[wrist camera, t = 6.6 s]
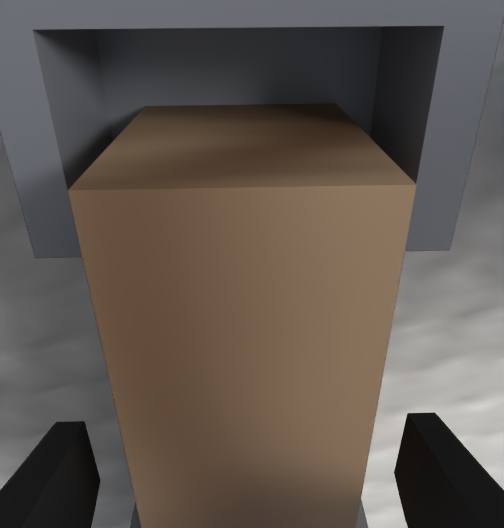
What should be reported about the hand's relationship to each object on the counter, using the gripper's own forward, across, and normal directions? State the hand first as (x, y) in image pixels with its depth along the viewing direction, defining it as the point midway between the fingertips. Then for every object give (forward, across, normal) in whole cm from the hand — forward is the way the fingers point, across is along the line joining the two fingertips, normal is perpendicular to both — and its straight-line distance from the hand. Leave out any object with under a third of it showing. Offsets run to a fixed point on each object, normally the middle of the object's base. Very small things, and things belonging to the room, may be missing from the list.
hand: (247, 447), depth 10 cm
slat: (+3, 0, 0) cm, 3 cm away
